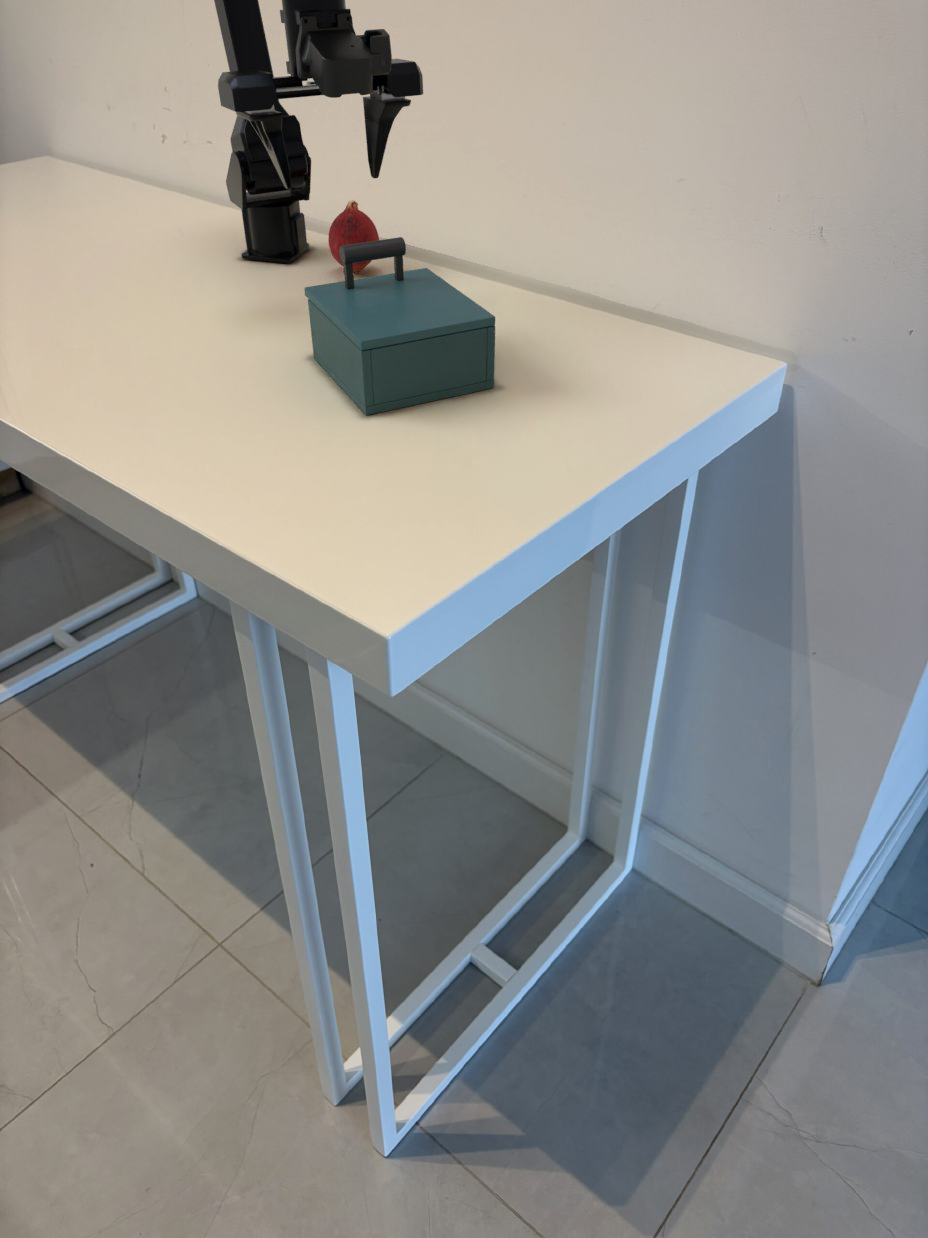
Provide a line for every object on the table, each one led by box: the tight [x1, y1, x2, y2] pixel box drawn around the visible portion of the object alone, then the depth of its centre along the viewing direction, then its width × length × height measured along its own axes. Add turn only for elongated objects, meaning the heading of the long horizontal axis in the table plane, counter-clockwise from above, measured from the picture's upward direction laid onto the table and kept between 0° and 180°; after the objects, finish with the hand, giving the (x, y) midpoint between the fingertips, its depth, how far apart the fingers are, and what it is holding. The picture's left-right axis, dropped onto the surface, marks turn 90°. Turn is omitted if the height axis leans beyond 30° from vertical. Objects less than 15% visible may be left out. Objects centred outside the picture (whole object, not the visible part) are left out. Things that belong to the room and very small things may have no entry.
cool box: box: [307, 298, 496, 416], centre depth 86 cm, size 14×13×6 cm
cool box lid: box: [303, 236, 496, 350], centre depth 83 cm, size 14×13×5 cm
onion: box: [328, 199, 380, 274], centre depth 107 cm, size 6×6×8 cm
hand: (332, 182), depth 94 cm, fingers open, 9 cm apart
